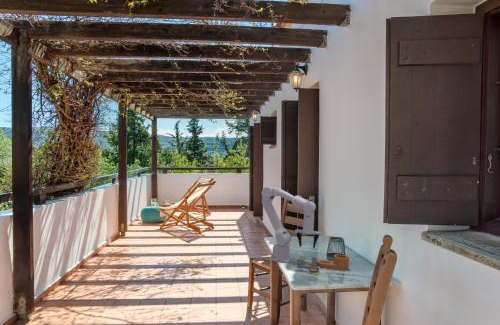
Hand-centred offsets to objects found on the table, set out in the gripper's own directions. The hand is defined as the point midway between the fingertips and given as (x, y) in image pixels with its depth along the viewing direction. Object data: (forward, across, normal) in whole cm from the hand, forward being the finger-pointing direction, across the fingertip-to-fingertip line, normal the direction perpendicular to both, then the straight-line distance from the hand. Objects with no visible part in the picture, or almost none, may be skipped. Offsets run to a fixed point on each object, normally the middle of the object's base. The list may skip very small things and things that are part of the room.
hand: (307, 247), depth 224 cm
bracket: (+10, +14, +2) cm, 18 cm away
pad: (+10, +6, -13) cm, 17 cm away
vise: (+10, +2, -6) cm, 12 cm away
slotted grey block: (+10, +6, -13) cm, 17 cm away
